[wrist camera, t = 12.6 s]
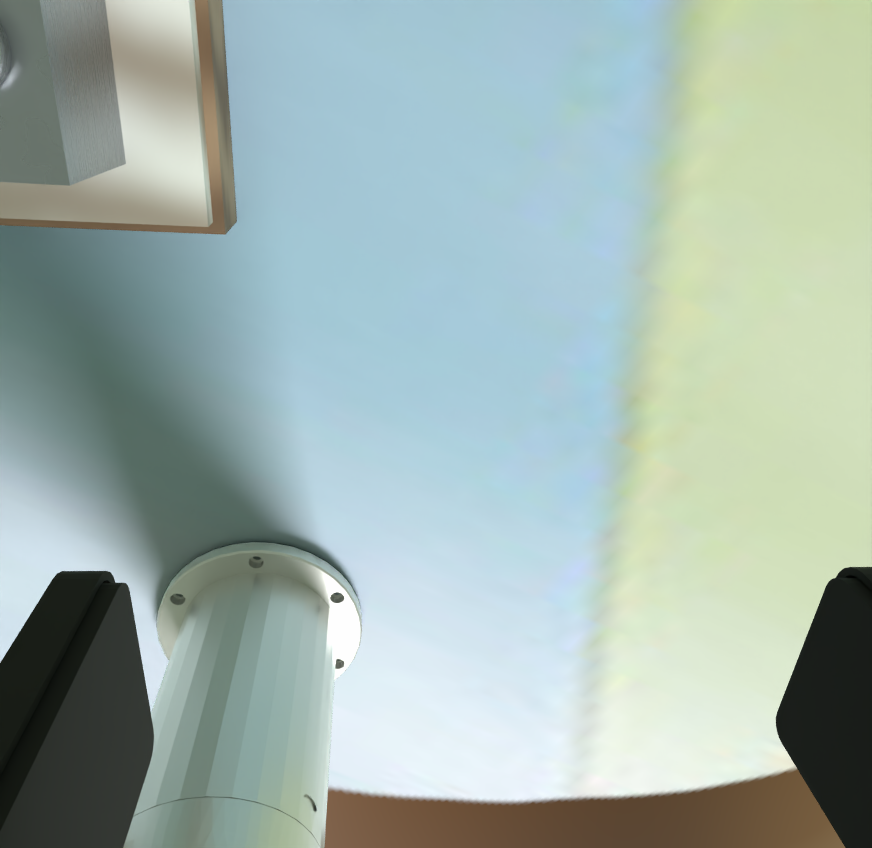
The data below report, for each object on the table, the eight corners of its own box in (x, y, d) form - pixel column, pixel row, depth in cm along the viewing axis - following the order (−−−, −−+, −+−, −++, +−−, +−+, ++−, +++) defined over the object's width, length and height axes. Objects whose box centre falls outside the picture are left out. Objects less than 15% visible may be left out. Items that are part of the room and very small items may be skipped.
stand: (236, 221, 34) (221, 239, 30) (-27, 210, 33) (-76, 227, 29) (212, -142, 28) (189, -174, 24) (-115, -173, 26) (-191, -211, 23)
